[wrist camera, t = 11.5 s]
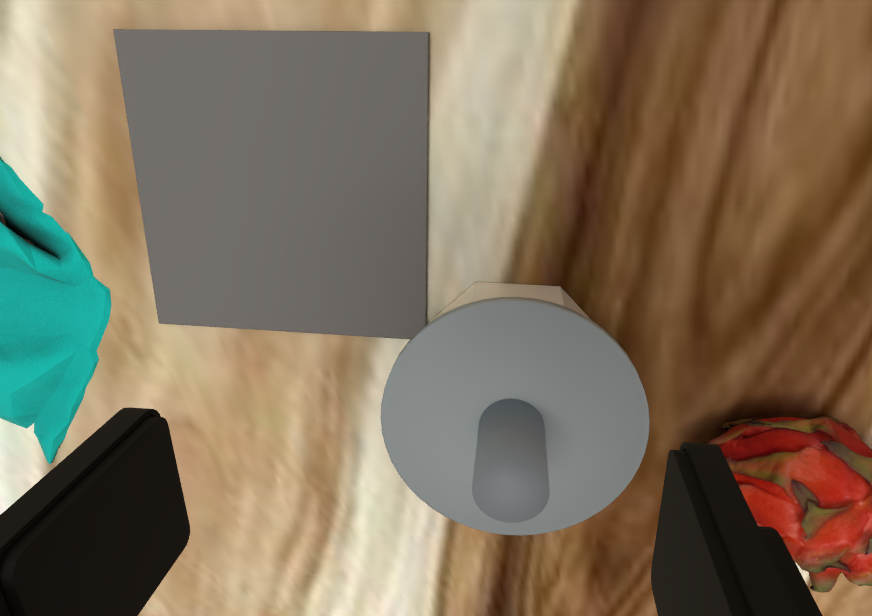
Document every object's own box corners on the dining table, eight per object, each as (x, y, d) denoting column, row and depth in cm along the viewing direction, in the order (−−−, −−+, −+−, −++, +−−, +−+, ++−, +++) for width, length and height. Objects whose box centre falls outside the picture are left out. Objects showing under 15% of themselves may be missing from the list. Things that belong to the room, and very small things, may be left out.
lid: (663, 303, 28) (698, 358, 23) (629, 535, 33) (651, 626, 27) (380, 290, 30) (350, 338, 24) (386, 513, 34) (362, 596, 29)
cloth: (132, 476, 43) (112, 497, 41) (-53, 442, 44) (-82, 461, 42) (105, 75, 33) (77, 75, 31) (-131, 43, 34) (-174, 41, 32)
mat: (428, 32, 30) (428, 31, 30) (426, 337, 36) (425, 340, 35) (117, 29, 32) (113, 29, 31) (162, 320, 37) (159, 323, 37)
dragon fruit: (866, 482, 37) (669, 409, 39) (979, 429, 30) (731, 342, 32) (865, 630, 33) (643, 539, 35) (998, 609, 26) (708, 496, 27)
